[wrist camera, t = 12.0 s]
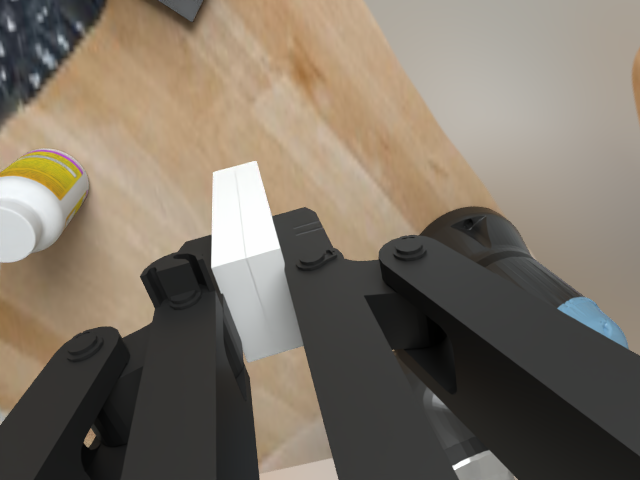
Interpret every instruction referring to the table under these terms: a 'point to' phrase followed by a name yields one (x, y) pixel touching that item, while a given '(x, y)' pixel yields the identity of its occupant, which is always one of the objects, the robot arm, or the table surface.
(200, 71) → the table surface
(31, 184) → the supplement bottle
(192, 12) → the post base
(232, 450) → the robot arm
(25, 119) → the table surface
